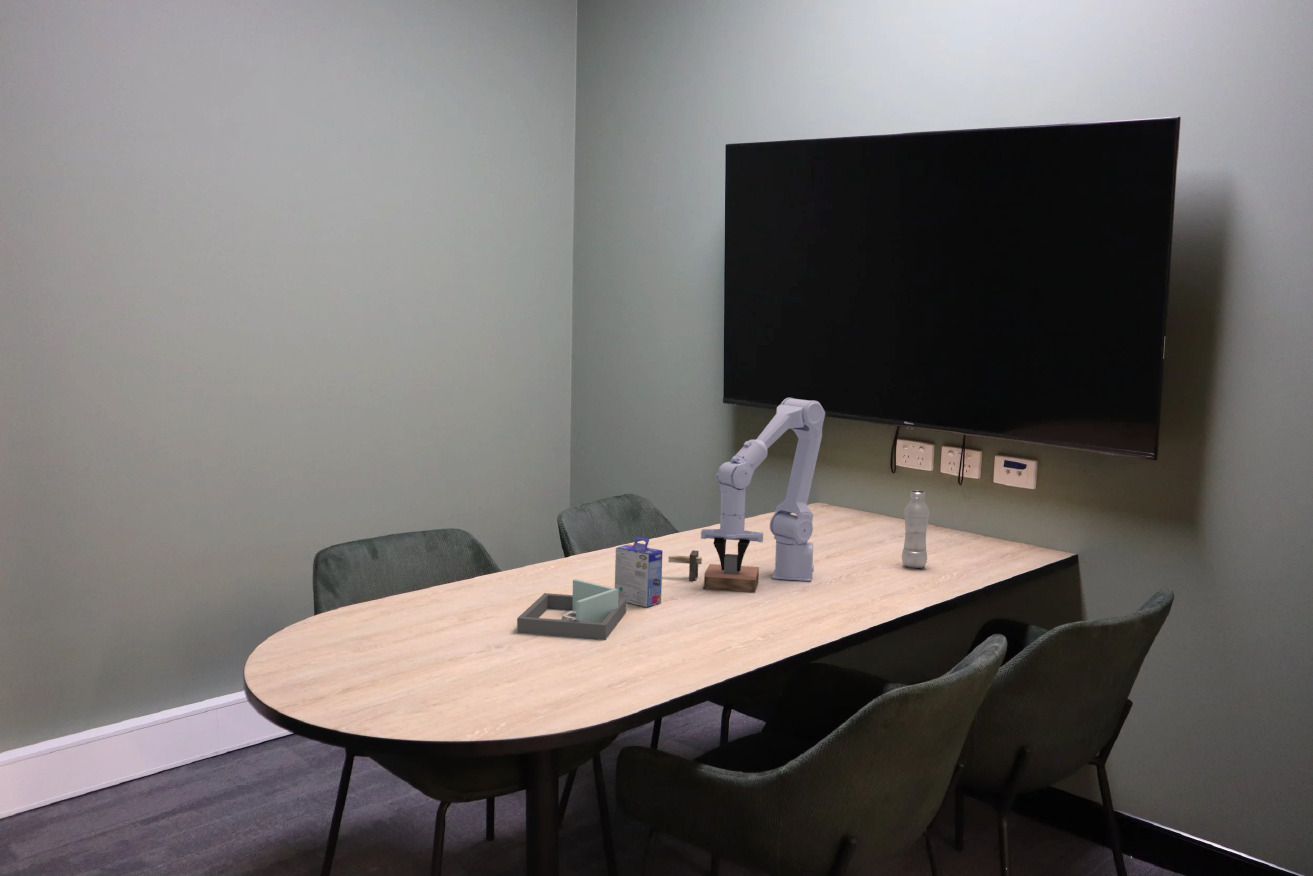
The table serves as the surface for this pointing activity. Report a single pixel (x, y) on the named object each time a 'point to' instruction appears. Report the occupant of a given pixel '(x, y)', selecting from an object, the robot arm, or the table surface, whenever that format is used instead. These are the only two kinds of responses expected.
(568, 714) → the table surface
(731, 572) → the lid
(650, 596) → the ink cartridge box
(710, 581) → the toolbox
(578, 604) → the l-shaped corner panel
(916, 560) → the plastic bottle
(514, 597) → the table surface
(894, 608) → the table surface
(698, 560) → the tan rectangular bar
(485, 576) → the table surface
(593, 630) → the dark gray square frame
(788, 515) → the robot arm
